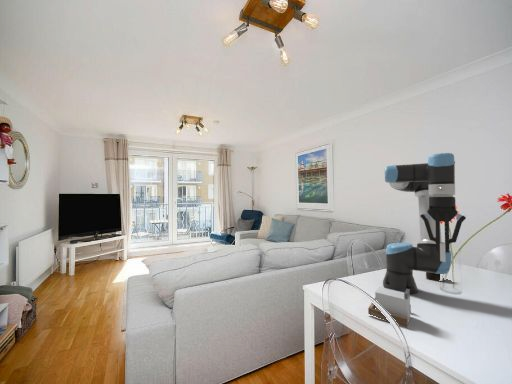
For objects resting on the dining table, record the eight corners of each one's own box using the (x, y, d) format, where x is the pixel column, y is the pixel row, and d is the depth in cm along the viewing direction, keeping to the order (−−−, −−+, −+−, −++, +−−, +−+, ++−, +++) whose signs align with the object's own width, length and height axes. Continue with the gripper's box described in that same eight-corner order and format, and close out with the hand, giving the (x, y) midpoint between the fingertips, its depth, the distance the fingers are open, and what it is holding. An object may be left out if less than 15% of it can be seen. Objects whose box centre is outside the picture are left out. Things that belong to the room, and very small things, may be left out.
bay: (375, 303, 102) (375, 296, 102) (410, 312, 94) (410, 305, 94) (368, 315, 91) (368, 308, 91) (407, 327, 83) (406, 319, 83)
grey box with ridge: (379, 307, 98) (379, 282, 98) (410, 316, 91) (409, 288, 91) (375, 314, 92) (375, 287, 93) (407, 324, 85) (407, 294, 86)
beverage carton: (441, 273, 142) (441, 262, 142) (443, 282, 126) (443, 270, 126) (425, 270, 146) (425, 260, 146) (426, 279, 131) (425, 268, 131)
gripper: (418, 196, 84) (420, 260, 83) (466, 196, 76) (468, 266, 75) (420, 196, 90) (421, 255, 89) (465, 195, 81) (466, 261, 81)
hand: (442, 260), depth 82 cm, fingers closed
